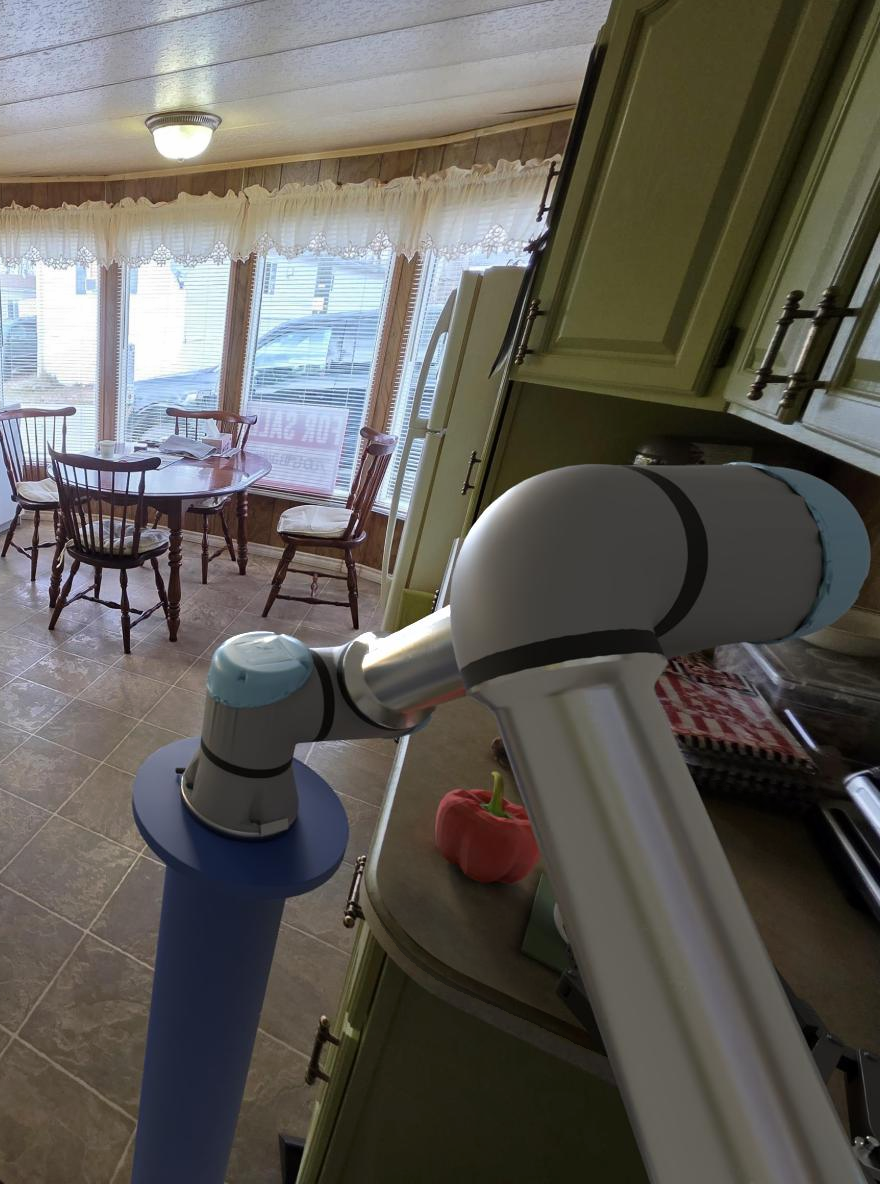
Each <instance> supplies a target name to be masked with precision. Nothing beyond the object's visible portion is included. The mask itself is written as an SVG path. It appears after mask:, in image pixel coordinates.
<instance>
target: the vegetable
mask: <svg viewBox="0 0 880 1184" xmlns="http://www.w3.org/2000/svg"><path fill="white" fill-rule="evenodd" d="M491 776H492V778H493V779H494V780H493V781H494V783H493V790H492V791H489V790H484V789H477V788H472V789H471V790H466V789H461V788H460V789H459V788H458V789H454V790H451V791H449V792H447V793H446V794H445V795H444V797H443V798H442V799H441V801H440V803H439V806H438V808H437V812H436V817H435V842H436V847H437V849H438V850H439V852H440V854H441V856H442V858H443V859H445V860H446V861H447V862H448V863H449V864H452V865H454V866H456V867H459V868H460V869H461V871H462V872H463V874H464V875H465V876H467V877H468V878H470V879H471V880H474V881H475V882H479V883H483V884H487V883H491V882H495V881H496V882H499V883H502V884H514V883H517V882H519V881H522V880H523V879H525V878H526V877H527V876H528V875H529V874H530V872H531V871H532V870H533V869H534V868H535V866H536V865H537V863H538V862H539V860H540V859H541V855H540V852H539V849H538V846H537V843H536V840H535V837H534V834H533V831H532V828H531V825H530V822H529V819H528V816H527V813H526V810H525V807H524V806H521V805H517V804H515V803H512V802H511V801H509V800H508V799H507V798H505V797H504V795H505V781H504V778H503V775H502V774H501V773H499V772H498V771H492V772H491Z"/></svg>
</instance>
